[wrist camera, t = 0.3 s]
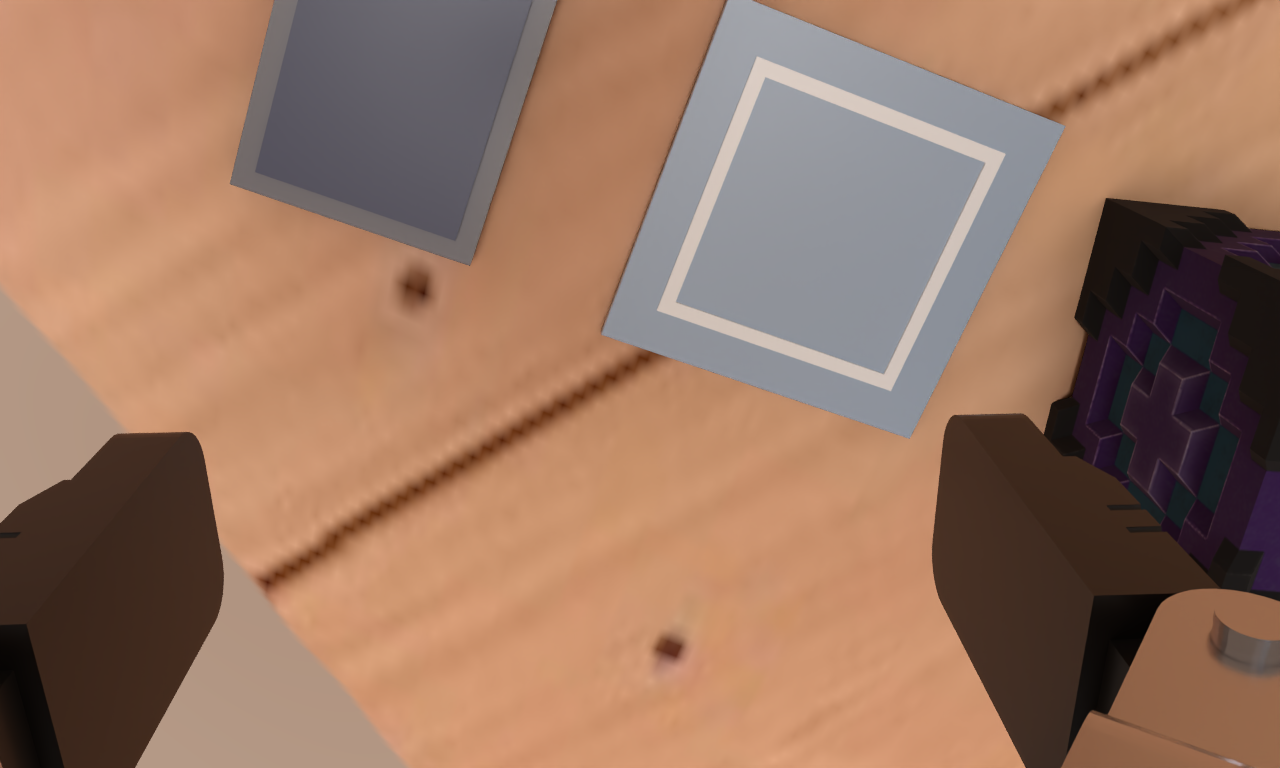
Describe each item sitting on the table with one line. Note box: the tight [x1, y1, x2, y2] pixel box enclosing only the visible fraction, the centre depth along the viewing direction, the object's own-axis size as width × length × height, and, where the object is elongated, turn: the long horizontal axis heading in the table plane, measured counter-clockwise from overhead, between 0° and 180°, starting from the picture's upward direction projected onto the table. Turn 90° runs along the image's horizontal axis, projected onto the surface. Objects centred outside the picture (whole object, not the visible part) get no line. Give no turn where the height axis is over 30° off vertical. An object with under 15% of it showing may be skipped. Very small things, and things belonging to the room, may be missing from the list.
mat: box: [601, 0, 1065, 439], centre depth 38 cm, size 12×12×1 cm
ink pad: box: [230, 0, 557, 266], centre depth 35 cm, size 10×8×1 cm
